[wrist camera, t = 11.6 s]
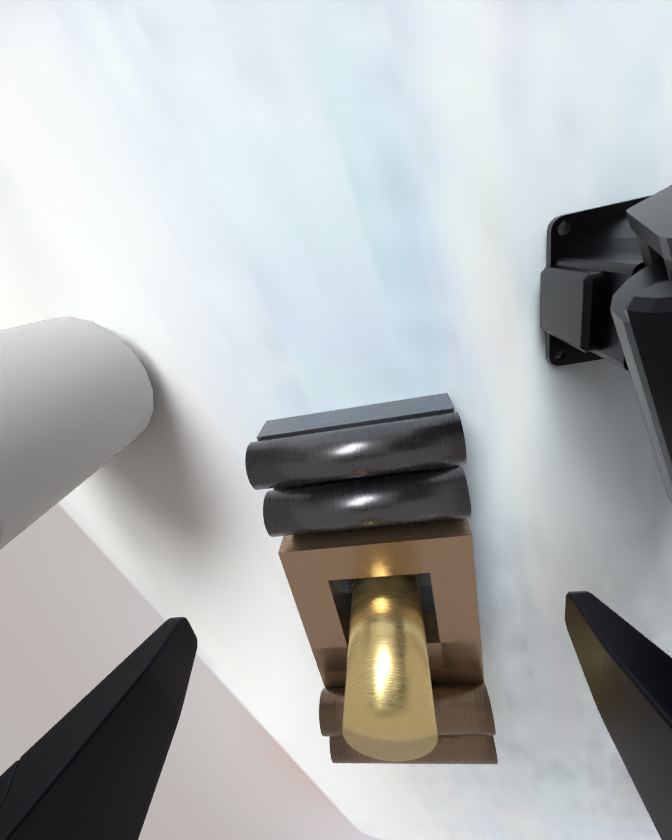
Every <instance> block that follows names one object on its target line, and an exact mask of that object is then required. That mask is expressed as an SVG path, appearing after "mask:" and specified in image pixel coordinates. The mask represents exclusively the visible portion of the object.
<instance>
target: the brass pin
mask: <svg viewBox="0 0 672 840" xmlns="http://www.w3.org/2000/svg"><path fill="white" fill-rule="evenodd" d="M342 733H343V736H344V739H345V740H346V742H347V743H348V744H349V745H350V746H351V747H352V748H353V749H355V750H356V751H358V752H360V753H361V754H364V755H366V756H368V757H371V758H375V759H379V760H384V761H409V760H414V759H418V758H420V757H423V756H425V755H427V754H428V753H430V752H431V751H432V750H433V749H434V748H435V746H436V744H437V741H438V735H437V727H436V718H435V710H434V702H433V694H432V685H431V677H430V669H429V660H428V652H427V644H426V636H425V627H424V619H423V611H422V603H421V594H420V586H419V578H418V574H406V575H393V576H380V577H367V578H355V579H353V590H352V604H351V618H350V631H349V645H348V659H347V672H346V686H345V700H344V714H343V727H342Z"/></svg>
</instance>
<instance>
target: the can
mask: <svg viewBox="0 0 672 840" xmlns="http://www.w3.org/2000/svg"><path fill="white" fill-rule="evenodd" d="M153 410H154V406H153V389H152V386H151V383H150V380H149V377H148V374H147V371H146V369H145V367H144V366H143V365H142V363H141V362H140V360H139V359H138V357H137V356H136V354H135V353H134V351H133V350H132V349H131V348H130V347H129V346H128V345H127V344H126V343H124V342H123V341H122V340H121V339H120V338H119V337H118V336H117V335H116V334H114V333H113V332H111V331H109V330H107V329H105V328H104V327H102V326H100V325H98V324H96V323H94V322H92V321H88V320H83V319H78V318H74V317H62V318H54V319H48V320H43V321H39V322H35V323H31V324H26V325H22V326H18V327H13V328H9V329H5V330H1V331H0V549H1V548H3V547H4V546H5V545H6V544H8V543H9V542H10V541H11V540H12V539H14V538H15V537H16V536H17V535H18V534H20V533H21V532H22V531H24V530H25V529H26V528H27V527H28V526H30V525H31V524H32V523H33V522H35V521H36V520H37V519H38V518H39V517H41V516H42V515H43V514H44V513H46V512H47V511H48V510H49V509H50V508H52V507H53V506H54V505H55V504H57V503H58V502H59V501H60V500H62V499H63V498H64V497H65V496H66V495H68V494H69V493H70V492H71V491H73V490H74V489H75V488H76V487H77V486H79V485H80V484H81V483H82V482H84V481H85V480H86V479H87V478H88V477H90V476H91V475H92V474H93V473H95V472H96V471H97V470H98V469H100V468H101V467H102V466H103V465H104V464H106V463H107V462H108V461H109V460H111V459H112V458H113V457H114V456H115V455H117V454H118V453H119V452H120V451H122V450H123V449H124V448H125V447H126V446H128V445H129V444H130V443H131V442H133V441H134V440H135V439H136V438H137V437H138V436H139V435H140V434H141V433H142V432H143V431H144V430H145V429H146V428H147V427H148V424H149V421H150V419H151V416H152V413H153Z"/></svg>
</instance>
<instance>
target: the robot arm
mask: <svg viewBox="0 0 672 840" xmlns="http://www.w3.org/2000/svg"><path fill="white" fill-rule="evenodd" d="M562 222H564V223H565V224H566V230H565V232H564V233H563V234H561V235H560V234H559V233H558V231H557V228H558V226H559V225H560V223H562ZM540 327H541V328H542V329H543V330H544V331H546V358H547V360H548V361H549V362H550V363H552V364H554V365H556V366H561V365H567V364H574V363H580V362H586V361H592V360H599V359H606V360H608V361H610V362H612V363H614V364H616V365H618V366H620V367H622V368H624V369H626V370H628V371H629V372H630V375H631V379H632V382H633V385H634V388H635V392H636V395H637V398H638V401H639V405H640V408H641V411H642V414H643V418H644V421H645V424H646V427H647V431H648V434H649V437H650V440H651V444H652V447H653V450H654V453H655V457H656V460H657V463H658V466H659V470H660V473H661V476H662V479H663V483H664V486H665V489H666V492H667V495H668V497H669V499H670V500H671V502H672V185H671V186H669V187H667V188H665V189H663V190H662V191H660V192H658V193H656V194H654V195H651V196H646V197H642V198H637V199H633V200H628V201H624V202H619V203H615V204H610V205H606V206H601V207H597V208H592V209H588V210H583V211H579V212H574V213H570V214H565V215H561V216H558V217H556V218H554V219H553V220H552V221H551V222H550V224H549V226H548V230H547V267H546V268H545V269H544V270H543V271H542V273H541V296H540ZM560 350H562V352H563V353H562V355H561V357H559V358H555V354H556V353H557V352H558V351H560ZM565 622H566V626H567V630H568V632H569V635H570V638H571V640H572V643H573V646H574V648H575V651H576V654H577V656H578V659H579V661H580V664H581V667H582V669H583V672H584V675H585V677H586V680H587V683H588V685H589V688H590V690H591V693H592V696H593V698H594V701H595V703H596V706H597V708H598V711H599V713H600V715H601V717H602V719H603V721H604V724H605V726H606V728H607V730H608V732H609V734H610V736H611V738H612V740H613V742H614V744H615V746H616V748H617V750H618V752H619V754H620V756H621V758H622V760H623V762H624V764H625V766H626V768H627V770H628V772H629V774H630V776H631V778H632V780H633V783H634V785H635V787H636V789H637V791H638V793H639V795H640V797H641V799H642V801H643V803H644V805H645V807H646V809H647V811H648V813H649V815H650V817H651V819H652V821H653V823H654V825H655V827H656V829H657V831H658V833H659V835H660V837H661V839H662V840H672V658H671V657H670V656H669V655H667V654H666V653H665V652H664V651H662V650H661V649H660V648H659V647H657V646H656V645H655V644H654V643H652V642H651V641H650V640H649V639H648V638H646V637H645V636H644V635H643V634H641V633H640V632H639V631H638V630H636V629H635V628H634V627H633V626H631V625H630V624H629V623H628V622H626V621H625V620H624V619H623V618H621V617H620V616H619V615H618V614H616V613H615V612H614V611H613V610H611V609H610V608H609V607H608V606H606V605H605V604H604V603H603V602H601V601H600V600H599V599H598V598H596V597H595V596H594V595H593V594H591V593H590V592H587V591H574V592H568V593H567V595H566V607H565ZM196 651H197V637H196V635H195V633H194V631H193V629H192V627H191V626H190V624H189V622H188V620H187V619H186V618H185V617H175V618H170V619H168V620H167V621H165V622H164V623H163V624H162V625H161V626H160V627H159V628H158V629H157V630H156V631H155V632H154V633H153V634H152V635H150V636H149V637H148V638H147V639H146V640H145V641H144V642H143V643H142V644H141V645H140V646H139V647H138V648H137V649H136V650H134V651H133V652H132V653H131V654H130V655H129V656H128V657H127V658H126V659H125V660H124V661H123V662H122V663H121V664H120V665H118V666H117V667H116V668H115V669H114V670H113V671H112V672H111V673H110V674H109V675H108V676H107V677H106V678H105V679H104V680H102V681H101V682H100V683H99V684H98V685H97V686H96V687H95V688H94V689H93V690H92V691H91V692H90V693H89V694H88V695H86V696H85V697H84V698H83V699H82V700H81V701H80V702H79V703H78V704H77V705H76V706H75V707H74V708H73V709H72V710H71V711H70V712H68V713H67V714H66V715H65V716H64V717H63V718H62V719H61V720H60V721H59V722H58V723H57V724H56V725H54V726H53V727H52V728H51V729H50V730H49V731H48V732H47V733H46V734H45V735H44V736H43V737H42V738H41V739H39V740H38V741H37V742H36V743H35V744H34V745H33V746H32V747H31V748H30V749H29V750H28V751H27V752H26V753H25V754H24V755H22V756H21V758H20V760H18V761H16V762H15V763H14V764H13V765H12V766H11V767H9V768H8V769H7V770H6V771H5V772H4V773H3V774H2V775H1V776H0V840H138V838H139V835H140V832H141V829H142V827H143V824H144V821H145V817H146V815H147V812H148V809H149V806H150V803H151V800H152V797H153V794H154V791H155V788H156V785H157V782H158V779H159V777H160V773H161V771H162V768H163V764H164V762H165V759H166V756H167V753H168V750H169V747H170V744H171V741H172V738H173V736H174V733H175V730H176V727H177V724H178V720H179V717H180V714H181V710H182V706H183V703H184V699H185V695H186V691H187V686H188V683H189V679H190V674H191V671H192V667H193V663H194V659H195V655H196Z"/></svg>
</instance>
